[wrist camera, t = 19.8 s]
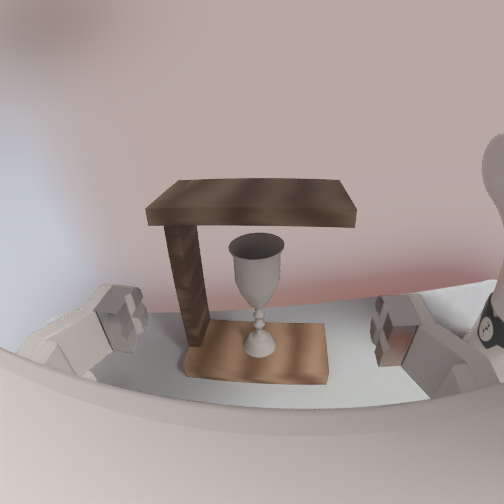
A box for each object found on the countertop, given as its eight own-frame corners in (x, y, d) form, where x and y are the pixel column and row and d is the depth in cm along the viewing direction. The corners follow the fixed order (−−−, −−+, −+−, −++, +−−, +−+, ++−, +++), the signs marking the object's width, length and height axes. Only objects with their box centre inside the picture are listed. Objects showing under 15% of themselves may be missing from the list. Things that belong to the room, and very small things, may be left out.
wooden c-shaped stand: (322, 335, 51) (339, 180, 38) (326, 384, 42) (356, 209, 28) (201, 330, 54) (178, 180, 40) (186, 376, 44) (145, 208, 31)
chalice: (254, 325, 50) (250, 228, 42) (289, 339, 47) (294, 239, 38) (228, 351, 45) (216, 250, 37) (265, 369, 42) (264, 265, 33)
